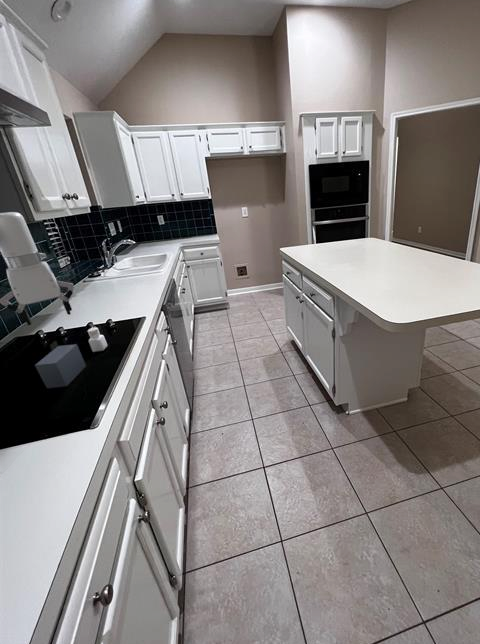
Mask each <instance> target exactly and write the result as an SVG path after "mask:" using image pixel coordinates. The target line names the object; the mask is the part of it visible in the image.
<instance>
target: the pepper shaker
mask: <svg viewBox="0 0 480 644" xmlns="http://www.w3.org/2000/svg"><path fill="white" fill-rule="evenodd" d="M87 333H88V336H89V337H90V338H89V339H88V343H89V346H90V349H91V351H92V352H93V353H95V352H102V351H104V350H105V349H107V347H108V343H107V340H106V338H105V335H103V334H101V333H100V330H99V328H98V327H91V328H89V329H88V330H87Z"/></svg>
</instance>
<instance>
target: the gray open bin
mask: <svg viewBox="0 0 480 644" xmlns="http://www.w3.org/2000/svg"><path fill="white" fill-rule="evenodd" d="M34 367H35V368H36V370H37V373H38V374H39V376H40V378H41V380H42V382H43V384H44V387H46V389H54V388H63V387H64V388H65V387H68V386H69V385H70V383H71V382H73V381H74V379H75V378H77V376H78V375H79V374H80V373H81V372H82V371H83V370H84V369H85V368H86V367H87V364H86V362H85V360H84V357H83V355H82V353H81V351H80V348H79V345H78V344H77V343H73V344H64V345H57V346H56V347H55V348H53V350H51V351H50V352H49V353H48V354H46V355H45V356H44V357H42V359H40V360H39V361H38V362H37V363H36V364H34Z"/></svg>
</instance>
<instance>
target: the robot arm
mask: <svg viewBox="0 0 480 644" xmlns="http://www.w3.org/2000/svg"><path fill="white" fill-rule="evenodd" d="M0 253H1V256H2V258H3V260H4V263H5V264H6V266H7V268H6V269H5V271H6V277H7V279H8V282H9V286H10V289H11V290H10V291H9V292H7V293H6V294H5V295H4V296H3V297H1V298H0V304H1V305H2V306H3V307H6V308H7V309H8V310H11V311H13V312H16V313H17V314H19V315H20V318H21V319H22V322H23V323H26V324H27V326H31V325H32V324H33V323H32V322H33V321H32V319H31V316H30V314H29V313H28V310H27V309H25V307H26V305H32V304H36V303H39V302H44V301H48V300H52V299H56V298H57V299H59V300H62V304H63V307H64V310H65V311H66V314H67V315H69V316H70V315H72V314H71V311H73V308H72V306H71V303H70V298H71V297H72V296H73V293H74V288H75V285H74V283H73V282H67V281H62V280H57V278H56V276H55V274H54V272H53V270H52V268H51V267H50V265H49V264H48V263H47V261H43V260H45V259H46V258H48V256H47V254H46V253H47V252H40V251H39V250H38V248H37V245H36V243H35V241H34V238H33V237H32V234H31V231H30V229H29V227H28V225H27V222H26V220H25V217H24V216H23V215H22V214H21V213H19V212H16V211H9V212H0ZM60 287H62V288H67V291H66V292H65V293H63V292H62V291H61V290H62V289H61V288H60ZM14 297H15V300H16V301H17V303H18V305H17V304H14V303H11V302H10V300H12V298H14Z"/></svg>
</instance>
